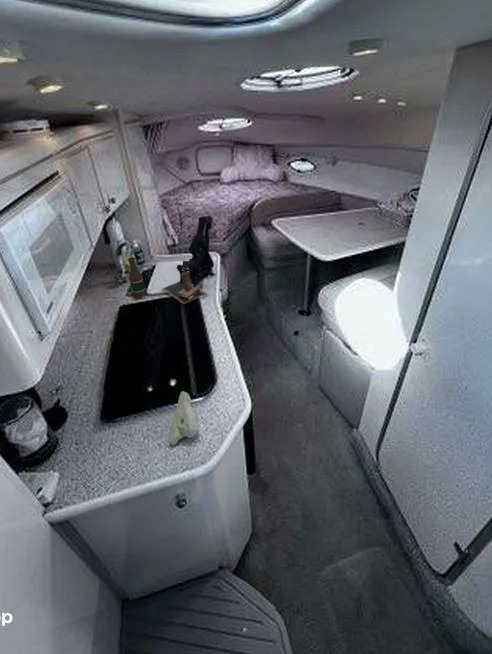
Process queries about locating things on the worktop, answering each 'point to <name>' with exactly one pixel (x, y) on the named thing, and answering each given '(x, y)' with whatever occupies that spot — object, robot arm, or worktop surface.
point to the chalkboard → (177, 288)
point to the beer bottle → (136, 280)
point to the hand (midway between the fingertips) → (187, 285)
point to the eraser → (187, 287)
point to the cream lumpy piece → (183, 420)
